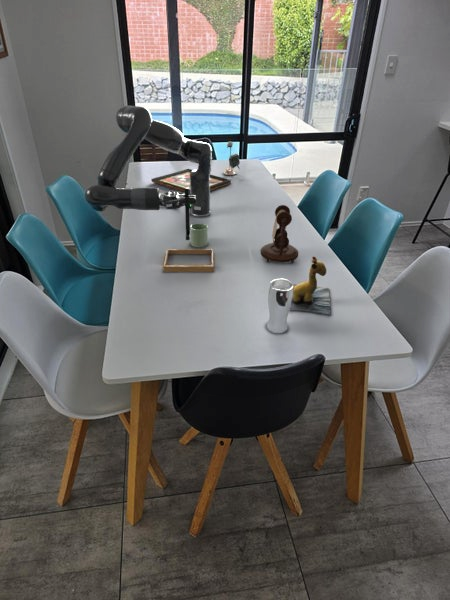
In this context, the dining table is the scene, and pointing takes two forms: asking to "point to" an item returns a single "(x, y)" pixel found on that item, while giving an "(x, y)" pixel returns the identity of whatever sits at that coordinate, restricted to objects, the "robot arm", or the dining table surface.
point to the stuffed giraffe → (312, 292)
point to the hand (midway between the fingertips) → (195, 199)
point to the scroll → (280, 239)
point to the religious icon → (187, 180)
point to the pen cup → (199, 234)
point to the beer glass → (279, 304)
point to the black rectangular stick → (187, 215)
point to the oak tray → (188, 267)
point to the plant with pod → (232, 161)
